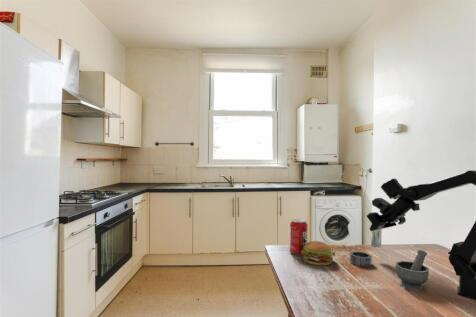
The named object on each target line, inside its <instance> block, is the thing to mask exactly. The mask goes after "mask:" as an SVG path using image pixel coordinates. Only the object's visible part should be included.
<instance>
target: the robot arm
mask: <svg viewBox="0 0 476 317" xmlns="http://www.w3.org/2000/svg"><path fill="white" fill-rule="evenodd" d="M470 184H472V185H474V186H475V187H476V170H475V169H474V170H470V169H469V170H466V171H464V172H462V173H459V174H455V175H452V176H449V177H446V178H444V179H439V180H436V181H433V182H431V183H422V184H414V185H409V186H407V187H403V185H402V184H401V183H400V182H399V181H398V179H397V178H391V179H390V180H388V181H385V182H383V184H382V185H381V186H380V189H381V190H382V191H383V192H384V193H385V194H386V196H387V197H388V198H389V199H390V200H392V199H393V200H394V202H392V203H390V202H389V201H387V200H386V199H384V198H382V197H376V198H374V199H373V200H371V205H372V206H373V207H375V208H377V209H379V213H378V212H369V213H367V215H366V218H367V219H368V220H369V222H370V227H369V230H370V232H371V231H373V230H377V229H381V228H382V230H383V229H388V228H393V227H397V224H398V225H399V226H400V225H403V224H405V223H406V217H405V216H406V214H407V213H408V212H409V211H411V210H412V211H413V212H417V211H420V210H421V209H420V208H421V207H420V203H417V201H418V202H419V201H425V200H428V199H429V198H432V197H434V196H436V195H437V194H439V193H441V192H442V193H443V192H445V191H449V190H452V189H453V190H454V189H457V188H460V187H463V186H467V185H470ZM371 223H372V225H371ZM447 254H448V261H449V263H450V264H451V266H452V268H453V270H454V273H455V275H456V276H458V277H459V278H458V279H459V280H458V281H459V282H458V283H459V284H458V286H457V290H456V291H457V295H460V296H464V297H467V298H471V299H475V300H476V220H475V222H474V223H473V225H472V227H471V228H470V230H469V232H468V234H467V235H466V237H465V239H464V241H459V242H455V243H453V244H452V247H451V250H450V251H448V253H447Z"/></svg>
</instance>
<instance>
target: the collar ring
mask: <svg viewBox="0 0 476 317" xmlns="http://www.w3.org/2000/svg"><path fill="white" fill-rule="evenodd" d="M372 258H373V257H372V255H371V254H369V253H367V252H365V251H357V250H356V251H350V253H349V262H350V264H352V265H354V266H357V267H361V268H362V267H363V268H369V267H372V264H373V262H372Z"/></svg>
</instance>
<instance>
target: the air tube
mask: <svg viewBox="0 0 476 317" xmlns="http://www.w3.org/2000/svg"><path fill="white" fill-rule="evenodd" d="M371 225H372V223H371V222H370V226H371ZM382 230H383V229H382V228H381V229H377V230H373V231H370V235H371V236H370V246H371V247H374V248H377V249H378V248H380V249H381V248H382Z"/></svg>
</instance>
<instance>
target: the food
mask: <svg viewBox="0 0 476 317" xmlns="http://www.w3.org/2000/svg"><path fill="white" fill-rule="evenodd" d="M301 254H302V255H301V257H302V260H303V261H304V262H306V263H308V264H310V265H313V266H321V267H322V266H328V265H331V264H332V262H333V260H334V258H333V257H335V256H336V252H335V251H334V248H333V247H331V246H330V245H329V244H328V243H325V242H324V241H323V242H322V241H320V240H313V241H309V242H308V241H307V243H306V244H305V246H303V250H302V251H301Z"/></svg>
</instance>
